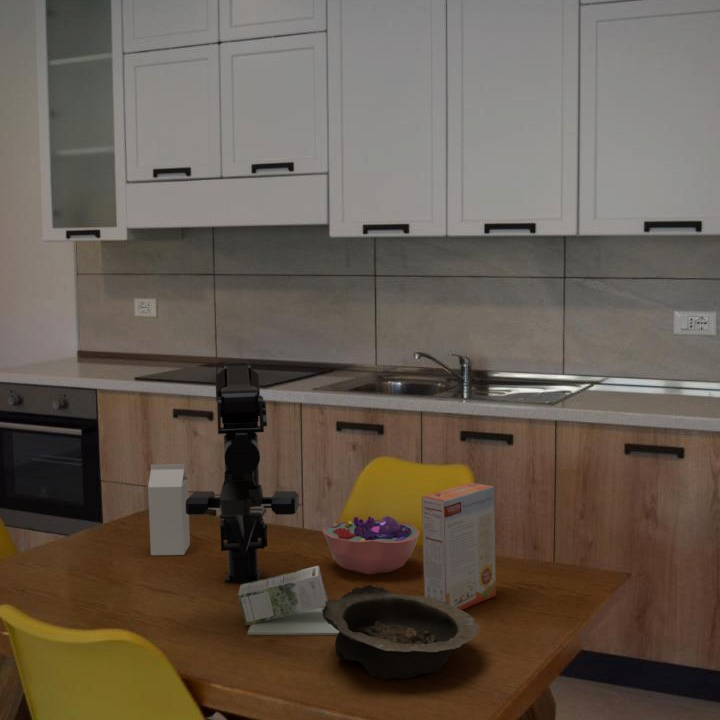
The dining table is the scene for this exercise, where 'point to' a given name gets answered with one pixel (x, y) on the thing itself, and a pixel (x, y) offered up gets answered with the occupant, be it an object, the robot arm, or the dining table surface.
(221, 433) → the robot arm
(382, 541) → the cell model
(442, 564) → the cracker box
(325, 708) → the dining table surface
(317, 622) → the mat
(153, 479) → the milk carton
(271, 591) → the syrup box
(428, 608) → the stone bowl
